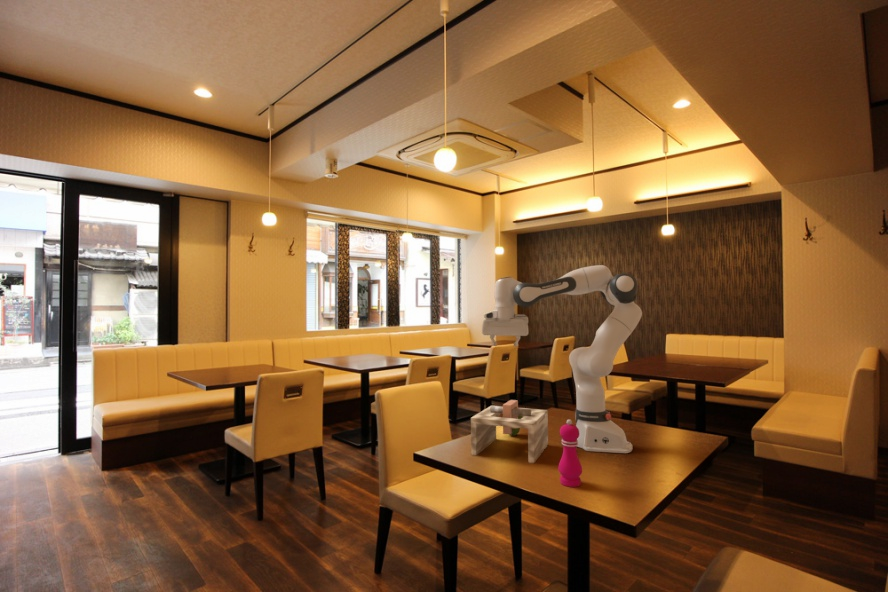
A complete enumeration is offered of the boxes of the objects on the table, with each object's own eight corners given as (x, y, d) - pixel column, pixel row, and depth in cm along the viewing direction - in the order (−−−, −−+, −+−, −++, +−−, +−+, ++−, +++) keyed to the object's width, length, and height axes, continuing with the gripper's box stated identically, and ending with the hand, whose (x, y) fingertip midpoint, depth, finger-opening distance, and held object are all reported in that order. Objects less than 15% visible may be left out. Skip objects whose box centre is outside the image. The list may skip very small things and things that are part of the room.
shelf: (548, 445, 184) (547, 404, 185) (533, 463, 162) (533, 417, 163) (491, 438, 194) (491, 399, 195) (471, 454, 173) (470, 411, 173)
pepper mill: (555, 479, 147) (554, 417, 147) (577, 478, 147) (576, 416, 148) (563, 488, 140) (562, 422, 140) (586, 487, 140) (584, 421, 141)
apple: (501, 437, 195) (501, 410, 196) (503, 432, 204) (503, 406, 204) (522, 438, 194) (522, 411, 194) (523, 433, 202) (523, 407, 202)
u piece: (518, 427, 183) (517, 400, 183) (510, 434, 173) (510, 405, 174) (510, 427, 184) (510, 399, 184) (503, 433, 174) (502, 404, 175)
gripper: (530, 314, 197) (530, 346, 196) (485, 314, 205) (485, 345, 205) (526, 314, 191) (526, 347, 191) (480, 314, 200) (480, 346, 199)
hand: (505, 346), depth 198 cm, fingers open, 8 cm apart
